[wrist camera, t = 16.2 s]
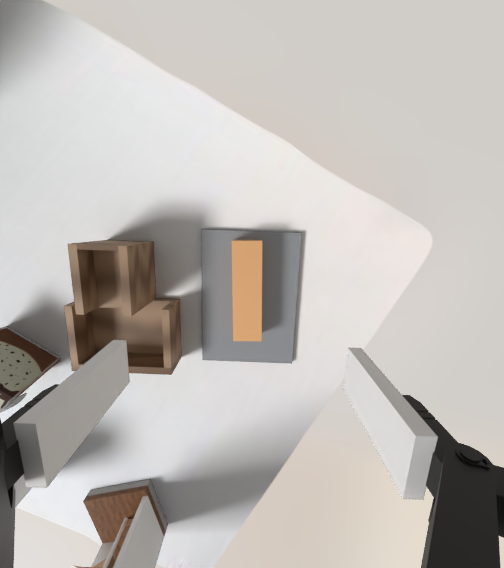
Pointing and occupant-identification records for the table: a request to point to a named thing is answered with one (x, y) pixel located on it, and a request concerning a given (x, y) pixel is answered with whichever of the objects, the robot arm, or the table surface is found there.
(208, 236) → the mat
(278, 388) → the table surface
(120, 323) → the pocket block
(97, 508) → the white cabinet tower
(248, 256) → the tan wooden beam
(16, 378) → the food container
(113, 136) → the table surface
